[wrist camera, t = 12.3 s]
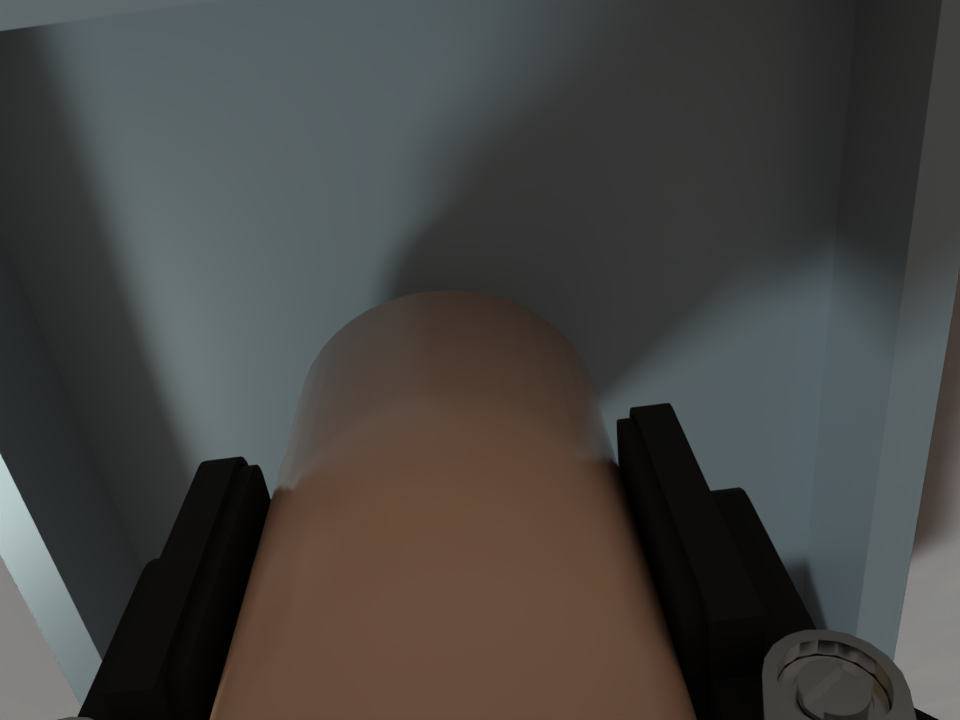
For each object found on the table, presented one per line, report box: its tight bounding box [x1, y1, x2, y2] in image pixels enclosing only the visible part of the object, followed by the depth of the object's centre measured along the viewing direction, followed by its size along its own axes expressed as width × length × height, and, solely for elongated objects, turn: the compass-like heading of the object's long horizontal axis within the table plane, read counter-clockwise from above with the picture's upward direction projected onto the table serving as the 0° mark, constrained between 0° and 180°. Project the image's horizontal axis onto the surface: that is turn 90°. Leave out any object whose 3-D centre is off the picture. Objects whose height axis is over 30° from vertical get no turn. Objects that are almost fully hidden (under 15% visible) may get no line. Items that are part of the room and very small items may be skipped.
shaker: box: [210, 290, 697, 720], centre depth 10 cm, size 5×5×10 cm
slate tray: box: [0, 0, 960, 707], centre depth 15 cm, size 16×16×3 cm
